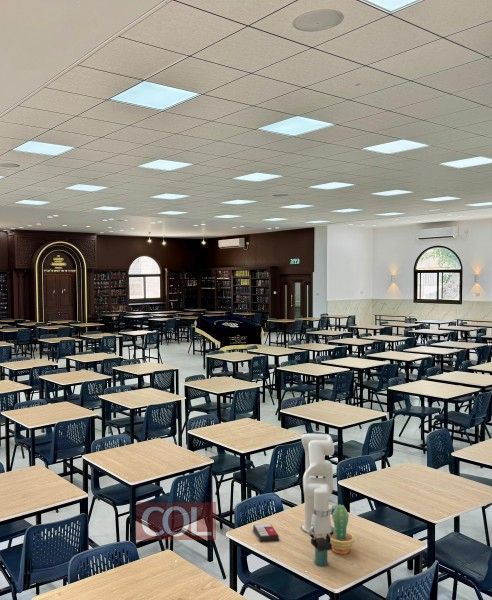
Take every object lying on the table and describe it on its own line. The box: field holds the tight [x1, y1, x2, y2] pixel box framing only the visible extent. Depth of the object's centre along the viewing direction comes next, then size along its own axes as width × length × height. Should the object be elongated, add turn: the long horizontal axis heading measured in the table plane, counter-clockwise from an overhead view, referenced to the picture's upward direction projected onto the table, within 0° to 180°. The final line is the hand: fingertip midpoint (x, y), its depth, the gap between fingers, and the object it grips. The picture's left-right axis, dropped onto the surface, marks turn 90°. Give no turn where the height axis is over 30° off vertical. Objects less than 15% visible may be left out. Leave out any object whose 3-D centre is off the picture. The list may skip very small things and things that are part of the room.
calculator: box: [252, 523, 280, 543], centre depth 328 cm, size 11×4×15 cm
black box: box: [310, 537, 333, 551], centre depth 295 cm, size 7×9×3 cm
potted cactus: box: [329, 503, 356, 555], centre depth 309 cm, size 15×15×25 cm
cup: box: [314, 547, 329, 567], centre depth 295 cm, size 6×6×9 cm
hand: (321, 544), depth 295 cm, fingers closed on black box, 7 cm apart
